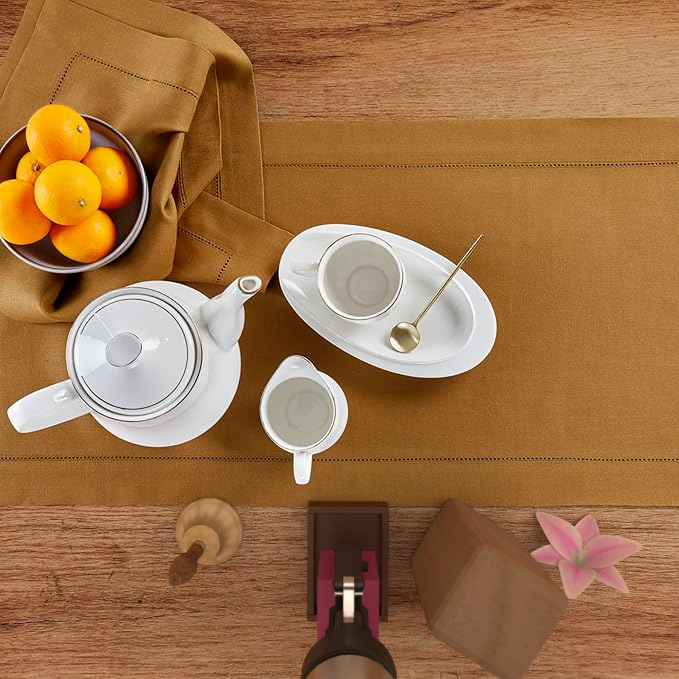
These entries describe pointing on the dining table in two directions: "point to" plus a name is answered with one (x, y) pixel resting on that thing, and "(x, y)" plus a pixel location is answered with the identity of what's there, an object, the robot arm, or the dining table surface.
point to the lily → (583, 553)
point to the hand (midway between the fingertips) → (348, 583)
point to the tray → (347, 541)
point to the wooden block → (484, 591)
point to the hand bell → (204, 537)
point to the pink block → (328, 599)
